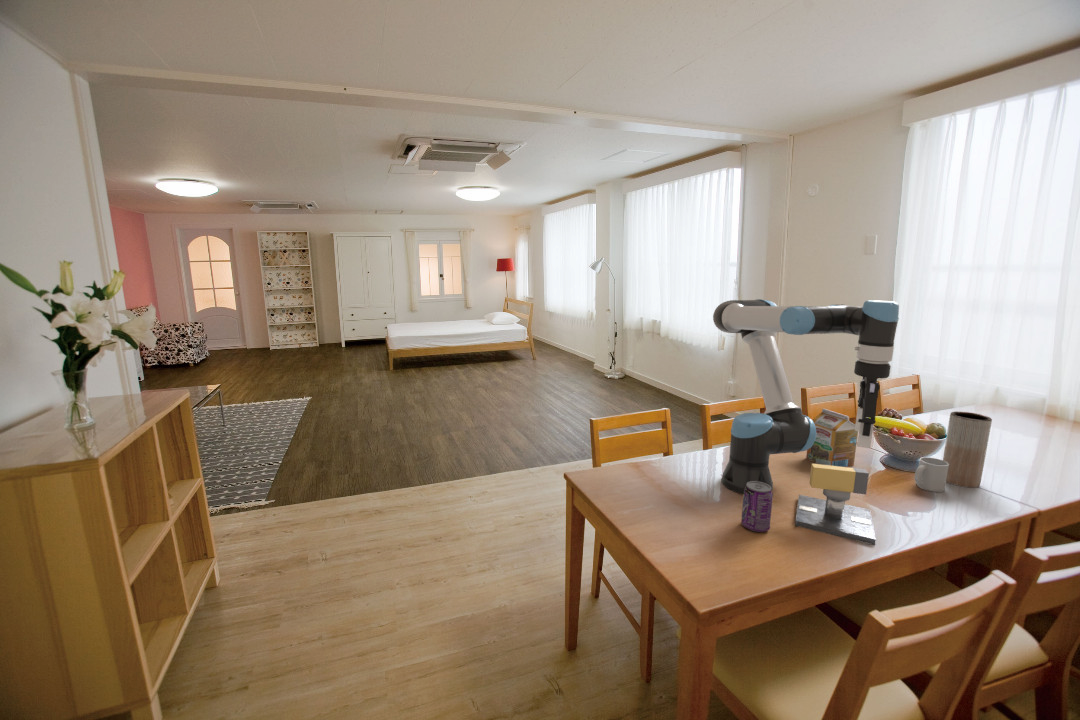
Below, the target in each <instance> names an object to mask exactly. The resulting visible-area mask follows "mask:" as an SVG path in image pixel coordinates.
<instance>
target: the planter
mask: <svg viewBox="0 0 1080 720" xmlns="http://www.w3.org/2000/svg"><path fill="white" fill-rule="evenodd" d="M948 420H949V421H948V425H947V432H946V439H945V446H944V451H943V456H942V457H943V458H942V460H943V461H945V462H947V463H948V464H949V467H948V473H947V479H946V483H949V484H952V485H955V486H958V487H964V488H978V487H980V485H981V482H982V477H983V471H984V465H985V460H986V455H987V449H988V446H989V445H988V444H989V438H990V434H991V433H990V432H991V427H992V423H993V419H992V417H990V416H988V415H985V414H981V413H976V412H971V411H970V412H969V411H958V410H957V411H952V412H950V415H949V419H948Z"/></svg>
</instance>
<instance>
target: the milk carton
mask: <svg viewBox="0 0 1080 720" xmlns="http://www.w3.org/2000/svg"><path fill="white" fill-rule="evenodd" d="M812 420H813V422H814V424H815V427H816V439H815V441H814V444H813V445H812V447H811V448H810V449H808V450H806V454H805V455H806V456H805V459H806V458H807V459H806V460H808V459H809V461H811V462H813V463H814V464H821V465H830V466H839V467H848V468H851V467H854V466H855V457H856V451H857V450H856V449H857V443H858V436H859V431H855V424H856V423H854V422H852V421H850V417H849V415H845V414H842V413H838V412H836V411H832V410H830V409H826V408H822V409H821V412H820V413H819V414H817V415H816V416H815V417H813V419H812Z"/></svg>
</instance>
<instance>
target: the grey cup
mask: <svg viewBox="0 0 1080 720" xmlns="http://www.w3.org/2000/svg"><path fill="white" fill-rule="evenodd" d="M918 462H919V463H918V467H917V468H916V470H915V473H914V482H915V484H916V486H917V487H918V488H919V489H922V490H925V491H928V492H932V493H942V492H944V491H945V489H946V484H947V482H946V479H947V473H948V467H949V464H948V463H947V462H945V461H943V459H939V458H937V457H936V458H935V457H929V456H924V457H923V456H922V457H919V461H918Z"/></svg>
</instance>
